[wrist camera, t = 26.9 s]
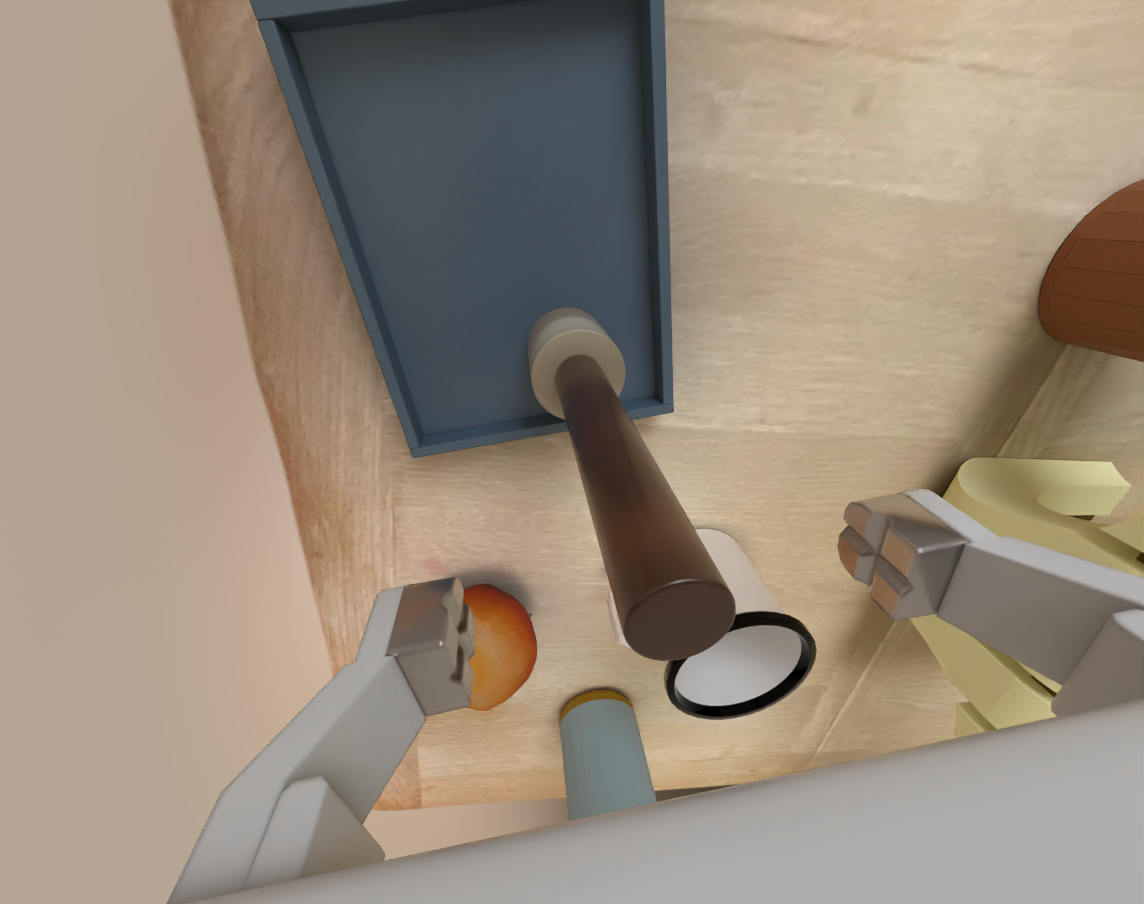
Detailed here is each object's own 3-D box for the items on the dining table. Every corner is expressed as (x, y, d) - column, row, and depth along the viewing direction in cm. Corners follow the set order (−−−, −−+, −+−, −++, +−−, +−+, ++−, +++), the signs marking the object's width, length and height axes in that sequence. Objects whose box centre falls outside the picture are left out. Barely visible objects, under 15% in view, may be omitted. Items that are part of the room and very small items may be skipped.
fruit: (500, 681, 36) (452, 754, 29) (442, 602, 37) (379, 653, 29) (575, 628, 34) (545, 691, 27) (512, 546, 35) (465, 584, 27)
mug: (764, 521, 34) (842, 617, 26) (729, 611, 38) (787, 717, 30) (608, 518, 32) (640, 622, 24) (591, 614, 36) (613, 727, 28)
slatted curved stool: (1000, 340, 29) (1579, 496, 13) (1192, 356, 31) (1867, 504, 16) (827, 653, 43) (1010, 908, 27) (969, 647, 45) (1210, 878, 30)
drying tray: (273, 18, 18) (248, -2, 16) (648, -31, 18) (663, -56, 17) (418, 442, 27) (412, 458, 25) (663, 399, 28) (673, 412, 26)
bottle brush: (520, 314, 24) (547, 558, 7) (601, 301, 24) (808, 508, 7) (534, 391, 26) (580, 715, 9) (609, 378, 26) (782, 673, 10)
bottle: (601, 675, 40) (647, 903, 27) (645, 706, 43) (705, 923, 30) (543, 713, 42) (559, 944, 28) (589, 739, 45) (623, 960, 32)
